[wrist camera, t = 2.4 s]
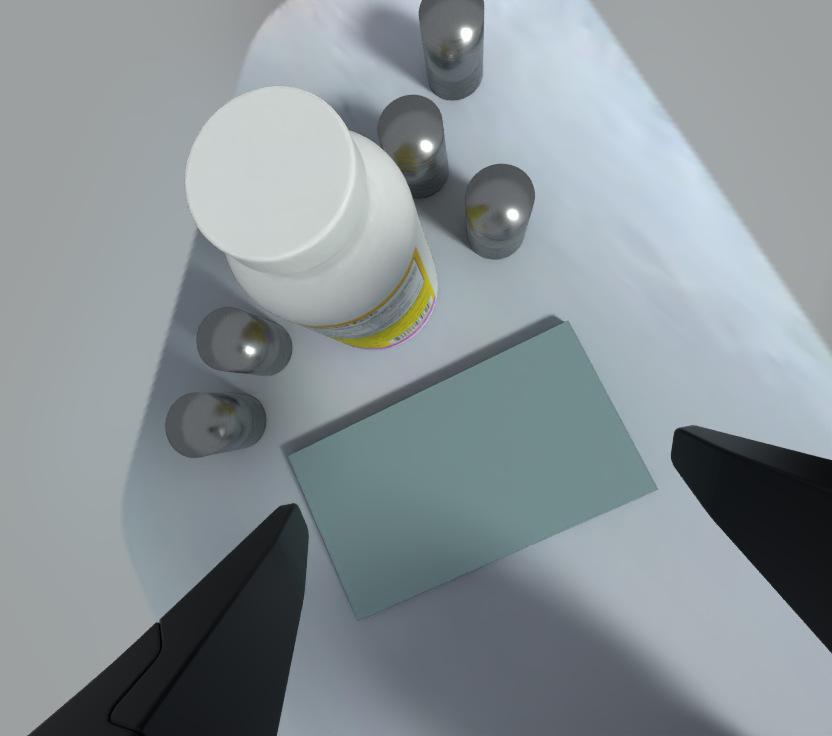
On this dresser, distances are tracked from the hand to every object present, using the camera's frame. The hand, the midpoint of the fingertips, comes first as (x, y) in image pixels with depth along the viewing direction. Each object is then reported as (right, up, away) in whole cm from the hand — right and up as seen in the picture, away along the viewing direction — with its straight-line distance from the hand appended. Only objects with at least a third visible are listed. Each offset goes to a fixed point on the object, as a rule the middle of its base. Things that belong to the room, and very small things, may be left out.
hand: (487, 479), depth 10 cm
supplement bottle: (-4, +7, +14) cm, 16 cm away
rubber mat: (+1, -3, +12) cm, 12 cm away
